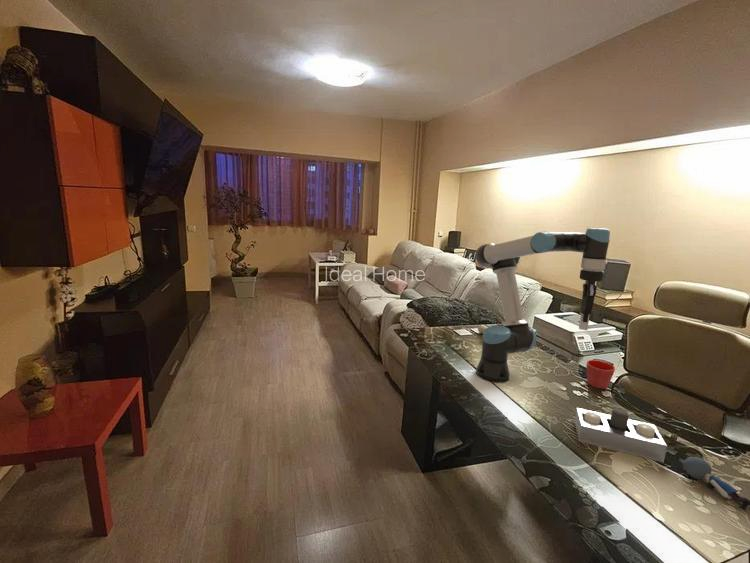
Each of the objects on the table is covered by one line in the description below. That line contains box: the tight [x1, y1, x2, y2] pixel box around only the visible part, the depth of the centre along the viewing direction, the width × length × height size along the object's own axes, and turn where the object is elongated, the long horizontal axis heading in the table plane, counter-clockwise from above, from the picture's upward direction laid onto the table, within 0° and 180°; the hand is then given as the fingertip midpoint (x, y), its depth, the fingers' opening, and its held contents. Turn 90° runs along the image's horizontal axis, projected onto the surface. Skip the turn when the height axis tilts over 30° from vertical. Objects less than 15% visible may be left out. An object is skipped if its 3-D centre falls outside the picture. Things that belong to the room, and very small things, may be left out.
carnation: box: [477, 325, 487, 334], centre depth 203 cm, size 12×12×35 cm
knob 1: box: [584, 412, 601, 425], centre depth 117 cm, size 5×5×6 cm
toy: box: [678, 456, 750, 510], centre depth 95 cm, size 7×6×15 cm
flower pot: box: [586, 359, 616, 389], centre depth 154 cm, size 11×11×10 cm
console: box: [574, 407, 668, 464], centre depth 114 cm, size 23×12×6 cm, turn 66°
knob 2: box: [636, 423, 655, 438], centre depth 111 cm, size 5×5×6 cm
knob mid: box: [609, 408, 630, 431], centre depth 114 cm, size 5×5×6 cm
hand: (583, 329), depth 131 cm, fingers closed
